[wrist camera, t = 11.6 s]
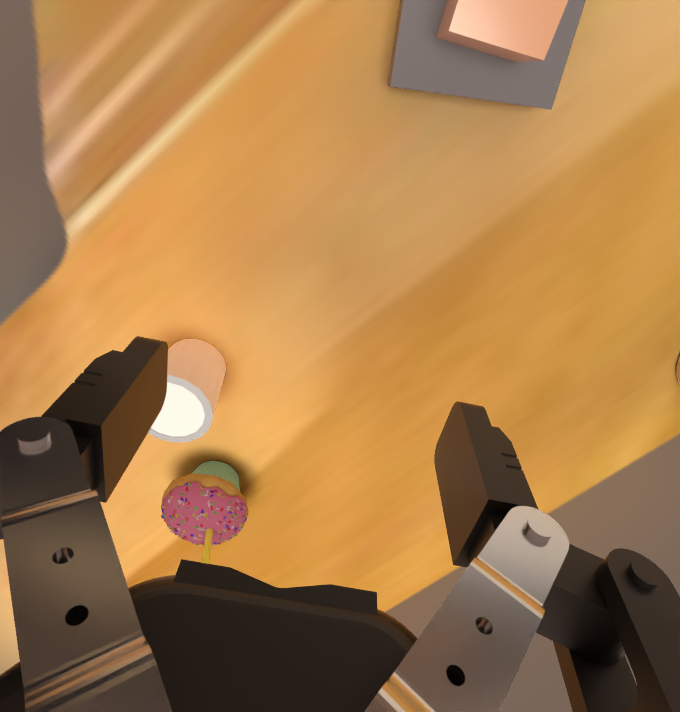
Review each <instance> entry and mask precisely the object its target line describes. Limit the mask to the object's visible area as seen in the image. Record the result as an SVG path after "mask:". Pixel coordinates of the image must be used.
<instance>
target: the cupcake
mask: <svg viewBox="0 0 680 712" xmlns="http://www.w3.org/2000/svg"><path fill="white" fill-rule="evenodd" d="M161 506H162V507H161V508H162V514H163V515H162V516H163V517H162V516H161V517H162V518H164V522H166V524H167V527H169V529H171V530H172V531H171V530H170V531H171V532H172V533H175V535H178V537H181V538H182V539H185V540H187V541H190V542H191V543H192V544H193V543H195V544H196V545H199V544H202V545H204V549H203V555H202V562H201V563H206V564H209V558H210V551H211V545H213V544H214V545H217V544H219V543H220V544H221V542H222V543H224V542H225V541H229V540H230V539H231V538H232V537H234V536H237V534H238V533H239V532H240V531H241V530H242V529H243V528H242V527H243V526H244V524H245V522H246V520H247V516H248V508H247V503H246V498H245V497H244V496H243V495H242V494H241V493H240V486H239V476H238V474H237V472H236V471H235V470H234V469H233V468H232V467H231V466H230V465H228V464H226V463H223V462H220V461H207V462H204V463H202V464H200V465H199V466H198V467H197V468H196V469H195V470H194V471H193V472H192V473H191V474H189V475H186V476H183V477H180V478H177V479H175V480H173V481H172V482H171V483H170V485H169V486H168V488H167V489H166V490H165V492H164V494H163V499H162V505H161Z"/></svg>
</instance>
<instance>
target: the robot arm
mask: <svg viewBox="0 0 680 712" xmlns="http://www.w3.org/2000/svg"><path fill="white" fill-rule="evenodd" d="M167 367H168V345H167V343H166V342H164V341H159V340H154V339H149V338H144V337H139V336H137V337H136V338H135V339H134V340H133V341H132V342H131V343H130V344H129V345H128V347H127V348H126V349H125V350H124V351H123V352H119V351H114V350H112V351H110V352H108V353H106V354H104V355H102V356H100V357H98V358H96V359H95V360H94V361H93V362H92V363H91V364H90V365H89V366H88V367H87V368H86V369H85V370H84V373H81V374H80V376H79V377H78V378H77V379H76V380H75V383H72V384H71V385H70V386H69V387H68V388H67V389H66V390H65V392H64V393H63V394H62V395H61V396H60V397H59V398H58V399H57V400H56V401H55V402H54V403H53V404H52V405H51V406H50V408H49V409H48V410H47V411H46V412H45V413H44V414H43V415H42V416H41V417H32V418H27V419H23V420H20V421H17V422H15V423H13V424H10V425H9V426H7V427H5V428H4V429H3V430H1V431H0V539H3V540H4V547H5V554H6V562H7V569H8V576H9V584H10V591H11V599H12V606H13V613H14V621H15V627H16V636H17V643H18V650H19V658H20V662H18V663H17V664H15V665H14V666H13V667H11V668H10V669H8V670H7V671H5V672H4V673H3V674H1V675H0V712H499V711H500V709H501V707H502V705H503V703H504V700H505V698H506V696H507V694H508V692H509V690H510V687H511V685H512V683H513V681H514V679H515V676H516V674H517V672H518V670H519V668H520V666H521V663H522V661H523V659H524V657H525V654H526V652H527V650H528V648H529V645H530V644H531V641H532V639H533V637H534V635H535V633H536V632H537V633H538V634H540V635H543V636H544V637H546V638H548V639H551V640H553V643H554V646H555V650H556V653H557V657H558V661H559V664H560V668H561V671H562V675H563V678H564V681H565V685H566V689H567V692H568V696H569V699H570V703H571V707H572V710H573V712H680V597H679V595H678V593H677V591H676V589H675V588H674V586H673V584H672V583H671V581H670V579H669V578H668V577H667V575H666V574H665V573H664V572H663V571H662V570H661V569H660V568H659V567H658V566H657V565H656V564H654V563H653V562H652V561H650V560H649V559H647V558H646V557H644V556H643V555H641V554H639V553H636V552H634V551H631V550H628V549H615V550H613V551H611V552H610V553H609V555H608V556H607V557H606V558H605V559H602V558H599V557H597V556H595V555H593V554H590V553H588V552H586V551H584V550H582V549H579V548H577V547H575V546H573V545H571V544H569V541H568V538H567V535H566V534H565V532H564V530H563V529H562V527H561V526H560V525H559V524H558V523H557V522H556V521H555V520H554V519H553V518H552V517H550V516H549V515H547V514H546V513H544V512H542V511H540V510H538V507H537V505H536V502H535V500H534V497H533V495H532V492H531V490H530V487H529V485H528V483H527V480H526V478H525V475H524V473H523V471H522V470H521V465H520V463H519V460H518V459H517V458H516V457H517V455H516V453H515V450H514V448H513V445H512V443H511V441H510V440H509V439H508V438H507V436H506V435H505V434H504V433H503V432H502V431H501V430H500V428H497V427H492V426H491V424H490V421H489V418H488V415H487V413H486V410H485V408H484V407H482V406H477V405H472V404H467V403H463V402H456V403H455V404H454V405H453V407H452V409H451V411H450V414H449V416H448V418H447V421H446V423H445V426H444V428H443V430H442V433H441V435H440V437H439V440H438V442H437V445H436V450H435V468H436V474H437V479H438V485H439V490H440V496H441V501H442V506H443V512H444V517H445V523H446V528H447V534H448V539H449V544H450V550H451V555H452V561H453V565H457V566H463V567H468V568H467V569H466V570H465V572H464V573H463V575H462V576H461V578H460V579H459V580H458V582H457V583H456V585H455V586H454V588H453V589H452V590H451V592H450V593H449V595H448V596H447V598H446V599H445V600H444V602H443V603H442V605H441V606H440V607H439V609H438V610H437V612H436V613H435V615H434V616H433V618H432V619H431V620H430V622H429V623H428V625H427V626H426V628H425V629H424V630H423V632H422V633H421V635H420V636H419V637H418V639H417V638H416V637H415V636H414V634H413V633H412V632H410V631H409V630H408V629H407V628H406V627H405V626H404V625H403V624H401V623H400V622H399V621H397V620H396V619H395V618H393V617H391V616H390V615H388V614H386V613H385V612H383V611H381V610H378V609H377V592H372V591H366V590H360V589H354V588H348V587H342V586H336V585H330V584H329V585H317V586H305V587H293V588H277V587H274V586H271V585H269V584H267V583H264V582H262V581H260V580H258V579H255V578H253V577H251V576H248V575H246V574H244V573H242V572H239V571H237V570H235V569H233V568H230V567H224V566H218V565H212V564H206V563H200V562H194V561H188V560H182V559H181V562H180V565H179V567H178V570H177V573H176V575H172V576H164V577H159V578H154V579H151V580H147V581H144V582H141V583H139V584H136V585H134V586H132V587H129V588H128V586H127V583H126V580H125V577H124V574H123V571H122V568H121V565H120V562H119V558H118V555H117V552H116V549H115V546H114V543H113V540H112V537H111V534H110V531H109V528H108V525H107V521H106V518H105V515H104V512H103V509H102V506H101V503H100V502H107V500H108V498H109V497H110V495H111V493H112V492H113V490H114V488H115V487H116V485H117V483H118V482H119V480H120V478H121V477H122V475H123V473H124V472H125V470H126V468H127V467H128V465H129V463H130V462H131V460H132V458H133V456H134V455H135V453H136V451H137V450H138V448H139V446H140V445H141V443H142V441H143V440H144V438H145V436H146V435H147V433H148V431H149V430H150V428H151V426H152V425H153V423H154V421H155V420H156V418H157V416H158V415H159V413H160V411H161V409H162V407H163V404H164V401H165V397H166V392H167ZM676 375H677V379H678V383H679V384H680V356H679V360H678V363H677V370H676ZM625 654H626V655H627V658H628V660H629V663H630V665H631V668H632V670H633V673H634V675H635V678H636V682H637V685H636V683H635V680H634V678H633V675H632V673H631V670H630V668H629V665H628V663H627V660H626V658H625Z"/></svg>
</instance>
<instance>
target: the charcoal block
mask: <svg viewBox="0 0 680 712" xmlns="http://www.w3.org/2000/svg"><path fill="white" fill-rule="evenodd" d="M585 1H586V0H568V2H567V5H566V7H565V10H564V12H563V15H562V17H561V20H560V22H559V24H558V27H557V29H556V32H555V34H554V37H553V39H552V42H551V44H550V47H549V49H548V52H547V54H546V57H545V59H544V61H531V62H519V63H516V62H513V61H510V60H506V59H503V58H500V57H497V56H493V55H490V54H487V53H484V52H480V51H477V50H474V49H471V48H467V47H464V46H461V45H458V44H454V43H451V42H448V41H445V40H441V39H438V38H436V36H437V33H438V29H439V26H440V23H441V19H442V16H443V12H444V9H445V6H446V2H447V0H400V7H399V14H398V20H397V27H396V33H395V40H394V46H393V53H392V60H391V66H390V73H389V79H388V86H390V87H397V88H404V89H411V90H418V91H425V92H432V93H439V94H446V95H453V96H460V97H467V98H474V99H481V100H488V101H495V102H502V103H509V104H516V105H523V106H530V107H537V108H544V109H552V106H553V103H554V99H555V96H556V93H557V90H558V87H559V83H560V80H561V77H562V74H563V71H564V68H565V64H566V61H567V58H568V55H569V52H570V48H571V45H572V42H573V39H574V36H575V32H576V29H577V26H578V23H579V20H580V17H581V13H582V10H583V7H584V4H585Z"/></svg>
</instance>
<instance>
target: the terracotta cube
mask: <svg viewBox="0 0 680 712" xmlns="http://www.w3.org/2000/svg"><path fill="white" fill-rule="evenodd" d="M567 2H568V0H447V2H446V6H445V9H444V12H443V16H442V19H441V23H440V26H439V29H438V33H437V36H436V38H438V39H441V40H445V41H448V42H451V43H454V44H458V45H461V46H464V47H467V48H471V49H474V50H477V51H480V52H484V53H487V54H490V55H493V56H497V57H500V58H503V59H506V60H510V61H513V62H516V63H519V62H531V61H544V59H545V57H546V54H547V52H548V49H549V47H550V44H551V42H552V39H553V37H554V34H555V32H556V29H557V27H558V24H559V22H560V20H561V17H562V15H563V12H564V10H565V7H566V5H567Z"/></svg>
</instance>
